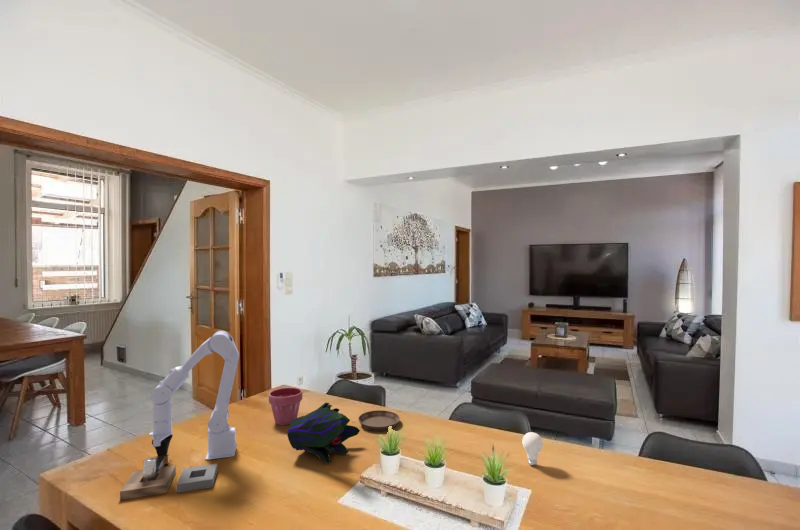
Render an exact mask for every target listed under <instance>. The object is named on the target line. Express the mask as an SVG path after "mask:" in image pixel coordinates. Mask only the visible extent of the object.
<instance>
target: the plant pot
mask: <svg viewBox="0 0 800 530" xmlns="http://www.w3.org/2000/svg"><path fill="white" fill-rule="evenodd" d="M302 400H303V390H302V389H301V388H299V387H280V388H276V389H274V390H271V391H270V392H269V393H268V404H270V405H271V411H272V414H273V419H274V423H275V424H277V425H281V426H286V425H290V424H291V421H292V419H295V418H298V415H299V410H300V405H301V401H302Z"/></svg>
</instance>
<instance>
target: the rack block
mask: <svg viewBox="0 0 800 530" xmlns="http://www.w3.org/2000/svg"><path fill="white" fill-rule="evenodd" d="M217 473H218V463H212V464H205V465H198V466H192V467H183V469H182V471H181V473H180V476H179V479H178V480H177V482H176V493H184V492H189V491H190V492H191V491H196V490H197V491H198V490H203V489H209V488H213V487H214V484H215V480H216V477H217Z"/></svg>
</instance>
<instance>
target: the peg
mask: <svg viewBox="0 0 800 530" xmlns="http://www.w3.org/2000/svg"><path fill="white" fill-rule="evenodd" d="M142 466H143V469H142V470H143V482H146V481H153V480H156V478H157V477H156V459H155V458H154V457H148V458H145V459H144V460H143V465H142Z"/></svg>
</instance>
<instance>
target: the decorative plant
mask: <svg viewBox="0 0 800 530" xmlns="http://www.w3.org/2000/svg"><path fill="white" fill-rule="evenodd" d="M332 407H333V405H332V404H330V402H324V403H323V404H322V405H320V406H319V407H318V408H317V409H315V410H313V411H311V412H309V413H306V415H302V416H299V417H298V416H297V418H295V419H292V421H291V424H289V426H288V428H287V440H288V442H289V444H290V446H291V447H292V449H293V450H295V451H306V452H309V453H311V454H313V455H315V456H317V457H318V458H319V459H321V460H322V462H324V463H325V464H326V465H328V464H330V463H331V461H332V460H331V459H330V455H329V453H336V454H341V455H345V456H346V455H347V454H348V453H349V452H350V451H349V450H348V449H347V447H346V445H344V444H343V443H344V442H345V441H347V440H348V439H349V438H353V437H356V436H357V435H358V434H359V433H360V431H361V430H360V428H358V427H357V426H354V425H349V424H348V423H349V422H350V421H351V419H350V418H348V417H347V416H346V415H345V414H343V413H340V412H339V411H340V408H337V407H335V408H333V409H331V408H332Z"/></svg>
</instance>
